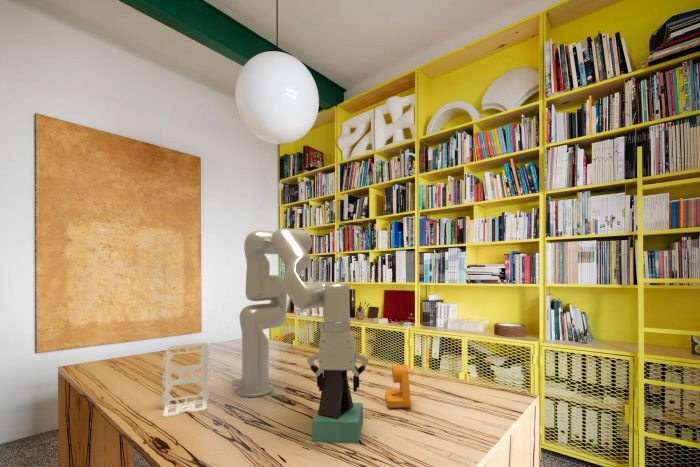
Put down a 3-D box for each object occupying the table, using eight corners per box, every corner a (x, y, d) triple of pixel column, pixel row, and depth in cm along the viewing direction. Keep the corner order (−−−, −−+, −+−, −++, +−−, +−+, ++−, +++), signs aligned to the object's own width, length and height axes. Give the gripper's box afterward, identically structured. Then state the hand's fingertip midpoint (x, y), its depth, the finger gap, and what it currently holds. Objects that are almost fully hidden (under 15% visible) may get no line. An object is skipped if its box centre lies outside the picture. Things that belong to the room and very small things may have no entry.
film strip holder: (159, 418, 106) (161, 351, 108) (163, 403, 119) (165, 343, 121) (209, 410, 112) (210, 346, 114) (208, 396, 125) (209, 339, 127)
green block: (312, 441, 90) (312, 420, 90) (322, 419, 103) (322, 401, 103) (358, 442, 88) (357, 422, 89) (363, 420, 101) (362, 402, 102)
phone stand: (336, 419, 91) (335, 372, 92) (317, 415, 94) (317, 369, 95) (353, 407, 98) (352, 363, 100) (335, 403, 101) (334, 361, 103)
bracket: (385, 397, 119) (383, 361, 120) (406, 397, 119) (404, 361, 120) (387, 410, 108) (386, 370, 110) (410, 409, 108) (409, 370, 109)
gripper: (303, 329, 96) (304, 394, 94) (366, 329, 93) (368, 395, 92) (310, 325, 103) (311, 384, 101) (368, 324, 101) (370, 385, 99)
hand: (338, 389), depth 96 cm, fingers open, 9 cm apart
